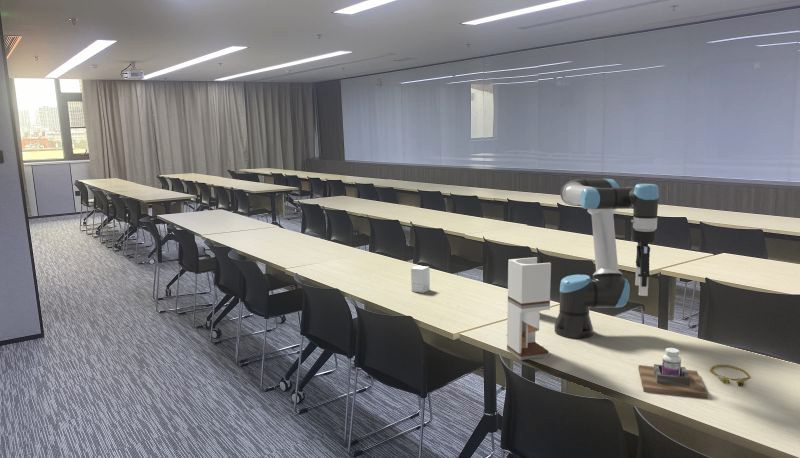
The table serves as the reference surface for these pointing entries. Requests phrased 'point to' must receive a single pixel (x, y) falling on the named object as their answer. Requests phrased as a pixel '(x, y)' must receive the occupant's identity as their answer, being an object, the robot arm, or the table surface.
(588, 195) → the robot arm
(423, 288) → the supplement box
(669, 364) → the pill bottle
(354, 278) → the table surface
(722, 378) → the gold torc necklace
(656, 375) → the socket block
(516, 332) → the white notched tower
